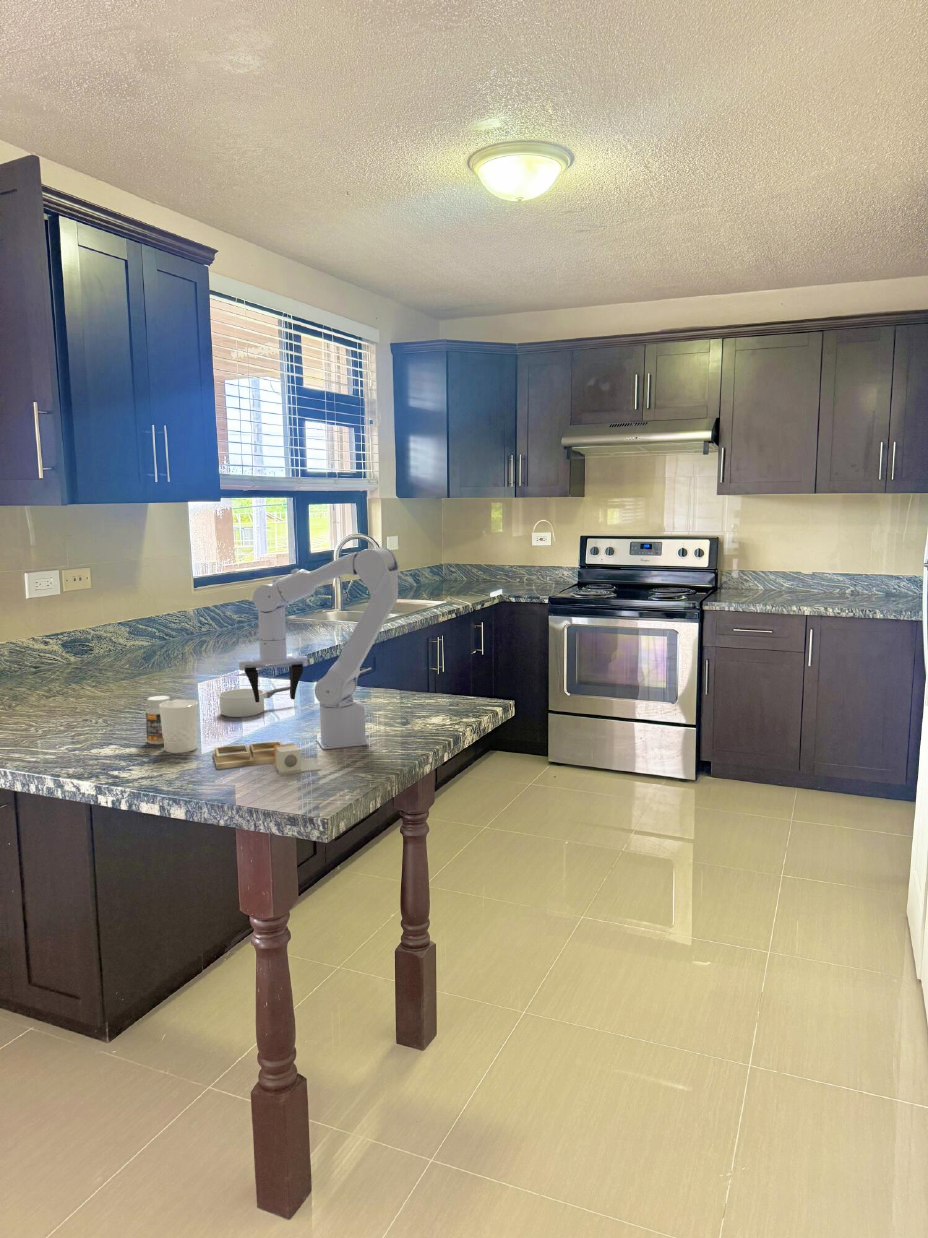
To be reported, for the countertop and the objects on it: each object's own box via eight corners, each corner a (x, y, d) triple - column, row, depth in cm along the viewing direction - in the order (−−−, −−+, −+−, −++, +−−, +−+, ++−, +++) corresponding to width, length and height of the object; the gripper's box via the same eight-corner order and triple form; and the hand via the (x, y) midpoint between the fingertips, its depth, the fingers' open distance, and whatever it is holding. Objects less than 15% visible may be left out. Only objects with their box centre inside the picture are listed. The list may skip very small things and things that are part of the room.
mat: (313, 759, 172) (313, 758, 172) (321, 771, 165) (321, 769, 165) (273, 764, 169) (273, 762, 169) (279, 775, 162) (279, 773, 162)
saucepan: (304, 711, 215) (303, 689, 215) (228, 722, 204) (227, 700, 203) (286, 703, 225) (285, 682, 224) (212, 713, 213) (211, 692, 212)
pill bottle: (146, 746, 184) (143, 701, 182) (148, 739, 189) (145, 696, 188) (173, 743, 185) (171, 699, 184) (174, 737, 191) (172, 694, 189)
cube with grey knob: (293, 743, 168) (300, 749, 164) (294, 762, 169) (301, 769, 164) (273, 745, 167) (280, 752, 162) (274, 765, 167) (281, 772, 163)
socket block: (280, 748, 181) (280, 738, 180) (288, 761, 171) (287, 750, 171) (212, 755, 176) (212, 745, 175) (216, 769, 166) (216, 758, 166)
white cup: (204, 743, 185) (202, 699, 184) (194, 753, 177) (192, 707, 176) (168, 744, 185) (165, 699, 184) (156, 754, 177) (153, 708, 176)
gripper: (302, 634, 189) (304, 693, 191) (236, 638, 184) (239, 699, 186) (308, 638, 183) (310, 699, 185) (239, 642, 178) (242, 705, 180)
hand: (274, 700), depth 185 cm, fingers open, 7 cm apart
